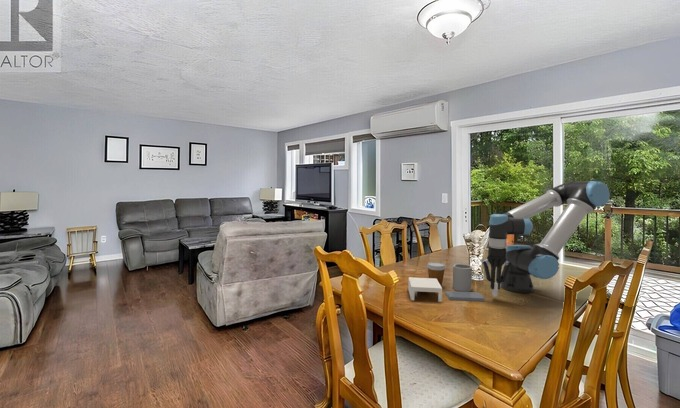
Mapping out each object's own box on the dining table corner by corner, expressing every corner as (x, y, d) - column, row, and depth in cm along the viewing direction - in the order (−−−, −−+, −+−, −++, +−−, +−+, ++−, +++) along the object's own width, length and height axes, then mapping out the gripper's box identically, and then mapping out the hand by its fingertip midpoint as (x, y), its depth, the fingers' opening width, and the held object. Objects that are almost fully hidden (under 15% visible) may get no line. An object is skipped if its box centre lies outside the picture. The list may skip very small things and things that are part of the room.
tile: (478, 296, 157) (478, 292, 157) (484, 302, 149) (484, 298, 149) (445, 295, 159) (445, 291, 158) (449, 301, 151) (449, 296, 150)
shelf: (436, 290, 163) (436, 278, 162) (441, 302, 148) (442, 288, 147) (408, 289, 164) (408, 277, 164) (411, 300, 150) (411, 286, 149)
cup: (469, 293, 160) (470, 269, 159) (450, 289, 165) (451, 266, 164) (472, 287, 168) (473, 265, 167) (454, 284, 173) (455, 263, 172)
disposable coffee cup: (446, 289, 164) (446, 267, 164) (426, 288, 166) (427, 266, 165) (443, 284, 174) (444, 262, 173) (425, 282, 176) (426, 261, 175)
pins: (415, 292, 160) (415, 284, 160) (417, 297, 153) (417, 288, 153) (411, 292, 160) (411, 283, 160) (413, 297, 153) (413, 288, 153)
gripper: (508, 245, 153) (506, 293, 155) (480, 244, 155) (478, 292, 157) (515, 249, 146) (512, 299, 148) (485, 248, 147) (482, 297, 149)
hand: (494, 295), depth 152 cm, fingers closed
